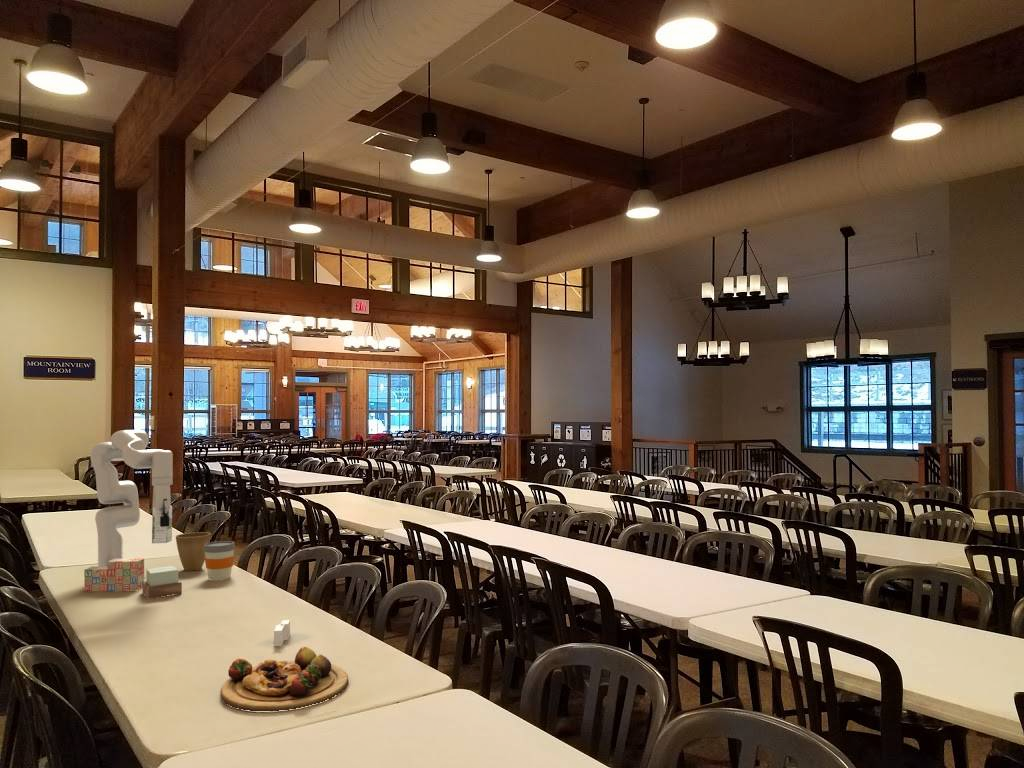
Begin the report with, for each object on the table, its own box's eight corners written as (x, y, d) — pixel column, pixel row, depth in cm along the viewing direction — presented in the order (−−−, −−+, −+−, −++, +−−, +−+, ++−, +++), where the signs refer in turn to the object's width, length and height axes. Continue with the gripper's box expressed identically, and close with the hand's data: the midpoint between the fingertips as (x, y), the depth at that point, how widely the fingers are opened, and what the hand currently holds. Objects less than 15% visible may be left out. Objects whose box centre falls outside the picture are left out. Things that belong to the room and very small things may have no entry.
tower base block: (142, 594, 299) (142, 581, 299) (174, 589, 306) (174, 577, 306) (148, 600, 289) (148, 587, 289) (181, 594, 296) (181, 582, 297)
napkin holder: (279, 651, 226) (279, 632, 226) (252, 646, 231) (252, 627, 231) (314, 637, 239) (314, 619, 239) (288, 632, 244) (288, 615, 244)
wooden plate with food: (191, 704, 185) (192, 671, 185) (275, 661, 215) (275, 632, 215) (298, 725, 174) (298, 689, 174) (371, 676, 204) (371, 646, 204)
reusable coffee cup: (197, 580, 320) (197, 545, 321) (219, 574, 332) (219, 540, 332) (220, 582, 316) (220, 547, 316) (241, 576, 327) (241, 541, 328)
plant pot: (213, 569, 341) (213, 534, 341) (178, 574, 332) (178, 538, 333) (206, 564, 353) (206, 530, 354) (172, 568, 345) (172, 534, 345)
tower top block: (146, 581, 299) (146, 569, 299) (173, 577, 305) (173, 565, 305) (150, 586, 291) (150, 573, 291) (178, 582, 296) (178, 569, 297)
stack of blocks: (83, 592, 302) (83, 562, 302) (91, 588, 308) (91, 559, 308) (137, 591, 303) (137, 560, 303) (144, 587, 309) (144, 557, 310)
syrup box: (157, 541, 301) (157, 505, 301) (172, 540, 301) (172, 504, 302) (151, 543, 295) (151, 507, 296) (167, 543, 296) (167, 506, 296)
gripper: (147, 480, 304) (147, 523, 303) (157, 483, 290) (157, 528, 289) (167, 479, 308) (167, 521, 308) (177, 482, 294) (177, 526, 294)
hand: (162, 524), depth 298 cm, fingers closed on syrup box, 7 cm apart
